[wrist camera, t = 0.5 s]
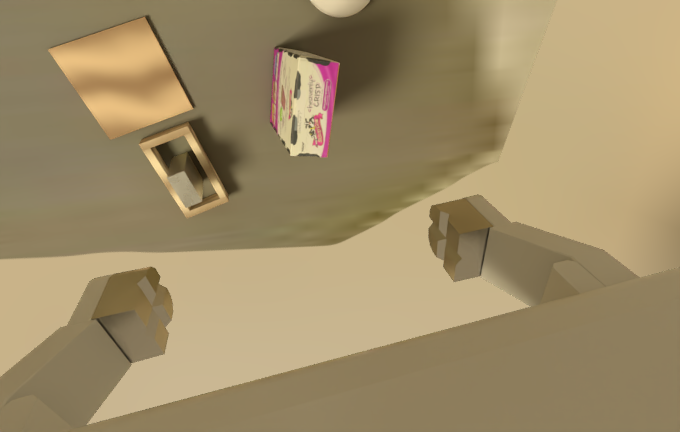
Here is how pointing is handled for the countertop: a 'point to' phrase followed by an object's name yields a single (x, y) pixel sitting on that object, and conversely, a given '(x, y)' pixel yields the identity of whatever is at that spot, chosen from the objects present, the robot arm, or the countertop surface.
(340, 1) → the flower in vase
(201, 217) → the countertop surface
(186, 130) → the birch box
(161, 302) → the robot arm
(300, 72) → the candy bar box
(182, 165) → the grey block
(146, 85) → the cork mat
